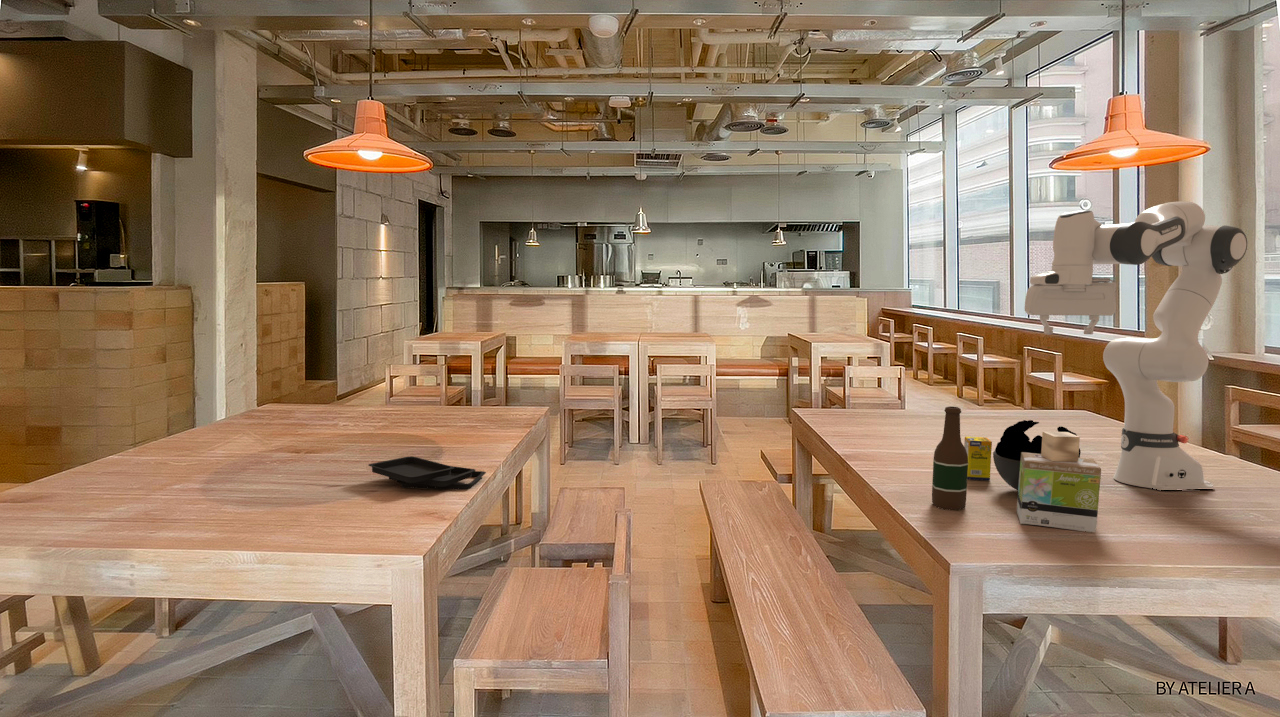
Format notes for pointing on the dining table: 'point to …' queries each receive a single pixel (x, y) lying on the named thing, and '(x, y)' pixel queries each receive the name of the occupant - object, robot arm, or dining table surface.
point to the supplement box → (978, 457)
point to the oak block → (1060, 446)
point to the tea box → (1058, 492)
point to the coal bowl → (1017, 450)
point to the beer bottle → (950, 465)
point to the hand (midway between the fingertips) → (1068, 334)
